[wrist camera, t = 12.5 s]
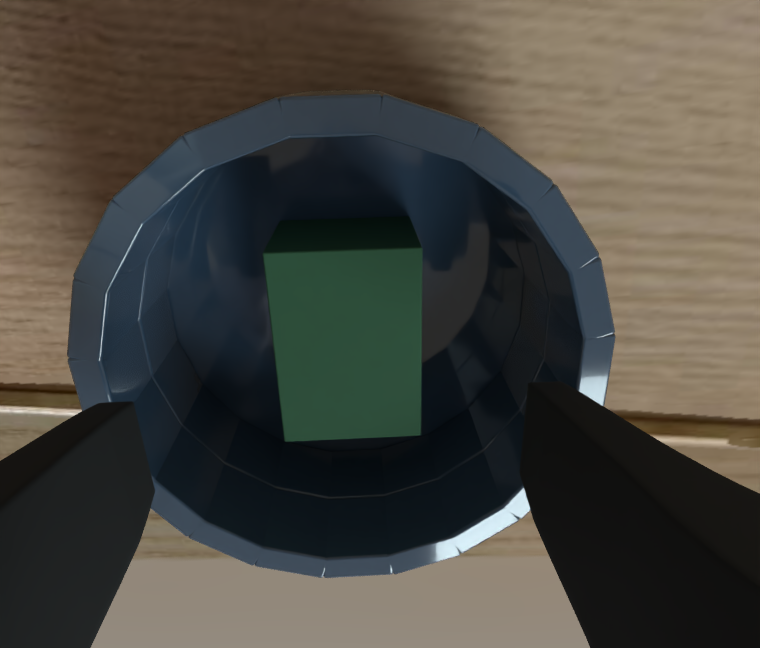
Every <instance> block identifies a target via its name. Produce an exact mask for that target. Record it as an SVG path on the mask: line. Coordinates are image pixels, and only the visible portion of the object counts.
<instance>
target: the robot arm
mask: <svg viewBox="0 0 760 648" xmlns="http://www.w3.org/2000/svg"><path fill="white" fill-rule="evenodd" d="M520 476H521V479H522V483H523V486H524V490H525V493H526V497H527V500H528V503H529V507H530V510H531V513H532V516H533V519H534V522H535V524H536V527H537V529H538V531H539V534H540V536H541V538H542V541H543V543H544V545H545V547H546V550H547V552H548V554H549V556H550V559H551V561H552V563H553V565H554V567H555V570H556V572H557V574H558V576H559V578H560V581H561V583H562V585H563V587H564V589H565V592H566V594H567V596H568V598H569V601H570V603H571V605H572V607H573V609H574V611H575V614H576V616H577V618H578V620H579V623H580V625H581V627H582V629H583V632H584V634H585V636H586V638H587V641H588V643H589V646H590V648H760V494H759V493H757V492H755V491H753V490H751V489H748V488H746V487H744V486H742V485H740V484H738V483H736V482H734V481H732V480H730V479H728V478H726V477H724V476H722V475H720V474H718V473H716V472H714V471H712V470H710V469H709V468H707V467H705V466H703V465H701V464H699V463H698V462H696V461H694V460H692V459H690V458H688V457H687V456H685V455H683V454H681V453H679V452H678V451H676V450H674V449H672V448H671V447H669V446H667V445H665V444H664V443H662V442H660V441H659V440H657V439H655V438H654V437H652V436H650V435H649V434H647V433H645V432H644V431H642V430H640V429H639V428H637V427H635V426H634V425H632V424H631V423H629V422H627V421H626V420H624V419H623V418H621V417H619V416H618V415H616V414H615V413H613V412H611V411H610V410H608V409H607V408H605V407H603V406H602V405H600V404H599V403H597V402H596V401H594V400H592V399H591V398H589V397H588V396H586V395H584V394H583V393H581V392H579V391H578V390H576V389H574V388H573V387H571V386H569V385H567V384H565V383H563V382H561V381H554V382H533V383H528V388H527V399H526V409H525V420H524V430H523V441H522V451H521V462H520ZM154 494H155V488H154V484H153V480H152V476H151V472H150V468H149V464H148V460H147V455H146V451H145V447H144V443H143V439H142V435H141V431H140V427H139V423H138V419H137V414H136V410H135V406H134V402H133V401H127V402H106V403H98V404H96V405H94V406H92V407H90V408H88V409H86V410H84V411H82V412H80V413H78V414H77V415H75V416H73V417H71V418H70V419H68V420H66V421H65V422H63V423H61V424H60V425H58V426H56V427H55V428H53V429H52V430H50V431H48V432H47V433H45V434H43V435H42V436H40V437H39V438H37V439H35V440H34V441H32V442H30V443H29V444H27V445H26V446H24V447H22V448H21V449H19V450H17V451H16V452H14V453H12V454H11V455H9V456H8V457H6V458H4V459H3V460H1V461H0V648H90V647H91V645H92V643H93V641H94V639H95V637H96V634H97V633H98V630H99V628H100V626H101V624H102V622H103V620H104V618H105V616H106V614H107V611H108V609H109V607H110V605H111V603H112V601H113V598H114V596H115V594H116V592H117V590H118V588H119V586H120V584H121V582H122V580H123V577H124V575H125V573H126V571H127V569H128V567H129V564H130V562H131V560H132V558H133V556H134V553H135V551H136V549H137V547H138V544H139V542H140V539H141V536H142V533H143V530H144V527H145V524H146V521H147V518H148V514H149V511H150V507H151V504H152V501H153V497H154Z"/></svg>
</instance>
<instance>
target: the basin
mask: <svg viewBox="0 0 760 648" xmlns="http://www.w3.org/2000/svg"><path fill="white" fill-rule="evenodd" d="M401 216H409V217H410V219H411V221H412V224H413V226H414V229H415V231H416V234H417V236H418V239H419V241H420V243H421V246H422V248H423V251H422V380H421V435H419V436H399V437H377V438H355V439H333V440H311V441H289V442H286V441H284V435H283V426H282V418H281V409H280V401H279V392H278V383H277V375H276V366H275V357H274V349H273V340H272V332H271V323H270V314H269V306H268V297H267V289H266V280H265V271H264V263H263V252H264V250H265V248H266V246H267V244H268V242H269V240H270V238H271V236H272V235H273V233H274V231H275V229H276V227H277V225H278V223H279V221H283V220H312V219H342V218H371V217H401ZM614 332H615V329H614V324H613V318H612V313H611V308H610V303H609V298H608V293H607V287H606V282H605V277H604V272H603V267H602V261H601V259H600V257H599V253H598V251H597V249H596V248H595V246H594V244H593V243H592V241H591V240H590V238H589V236H588V235H587V233H586V231H585V230H584V228H583V227H582V225H581V223H580V222H579V220H578V219H577V217H576V215H575V214H574V212H573V210H572V209H571V207H570V206H569V204H568V202H567V201H566V199H565V198H564V196H563V194H562V193H561V191H560V189H559V188H558V186H557V185H555V184H553V181H552V180H551V179H550V178H549V177H548V176H546V175H545V174H544V173H542V172H541V171H540V170H538V169H537V168H536V167H535V166H533V165H532V164H531V163H529V162H528V161H527V160H525V159H524V158H523V157H522V156H520V155H519V154H518V153H516V152H515V151H514V150H513V149H511V148H510V147H509V146H507V145H506V144H505V143H503V142H502V141H501V140H500V139H498V138H497V137H496V136H494V135H493V134H492V133H490V132H489V131H488V130H487V129H485V128H484V127H482V126H479V125H478V124H477V123H474V122H472V121H469V120H466V119H463V118H460V117H457V116H454V115H452V114H449V113H446V112H443V111H440V110H437V109H434V108H430V107H427V106H424V105H421V104H418V103H415V102H412V101H409V100H406V99H402V98H399V97H396V96H393V95H390V94H387V93H384V92H381V91H377V90H375V91H373V90H335V91H308V92H300V93H294V94H290V95H284V96H280V97H275V98H272V99H270V100H267V101H264V102H262V103H259V104H257V105H254V106H252V107H249V108H247V109H244V110H242V111H239V112H236V113H234V114H231V115H229V116H226V117H224V118H221V119H219V120H216V121H214V122H211V123H209V124H206V125H203V126H201V127H198V128H196V129H193V130H191V131H188V132H186V133H184V134H183V135H182V136H179V137H178V138H177V139H176V140H175V141H174V142H173V143H171V144H170V145H169V146H168V147H167V148H166V149H165V150H164V151H163V152H162V153H160V154H159V155H158V156H157V157H156V158H155V159H154V160H153V161H152V162H150V163H149V164H148V165H147V166H146V167H145V168H144V169H143V170H142V171H141V172H139V173H138V174H137V175H136V176H135V177H134V178H133V179H132V180H131V181H129V182H128V183H127V184H126V185H125V186H124V187H123V188H122V189H121V190H120V191H118V192H117V193H116V194H115V195H114V196H113V198H112V200H110V201H109V203H108V205H107V208H106V210H105V212H104V214H103V216H102V218H101V220H100V222H99V224H98V226H97V228H96V230H95V232H94V234H93V236H92V238H91V240H90V242H89V244H88V246H87V248H86V250H85V252H84V254H83V256H82V258H81V260H80V262H79V264H78V266H77V268H76V271H75V273H74V279H73V285H72V298H71V311H70V324H69V337H68V350H67V356H68V357H69V358H68V364H69V367H70V371H71V374H72V378H73V381H74V384H75V388H76V391H77V395H78V398H79V401H80V405H81V408H82V411H84V410H86V409H88V408H90V407H92V406H94V405H96V404H98V403H106V402H127V401H133V402H134V406H135V410H136V414H137V419H138V423H139V427H140V431H141V435H142V439H143V443H144V447H145V451H146V455H147V460H148V464H149V468H150V472H151V476H152V480H153V484H154V488H155V494H154V497H153V501H152V504H151V507H150V508H151V509H152V510H154V511H155V512H156V513H157V514H159V515H160V516H161V517H162V518H164V519H165V520H166V521H168V522H169V523H170V524H171V525H173V526H174V527H175V528H176V529H178V530H179V531H180V532H181V533H183V534H184V535H185V536H189V538H190V539H192V540H195V541H197V542H199V543H202V544H204V545H206V546H208V547H211V548H213V549H215V550H218V551H220V552H222V553H224V554H227V555H229V556H231V557H234V558H236V559H238V560H241V561H243V562H245V563H247V564H250V565H254V564H255V566H257V567H262V568H268V569H274V570H280V571H285V572H291V573H297V574H302V575H308V576H314V577H319V578H322V577H323V576H324V577H325V578H334V577H353V576H370V575H388V574H389V575H390V574H392V573H394V574H398V573H401V572H405V571H408V570H412V569H415V568H418V567H422V566H425V565H429V564H432V563H435V562H439V561H442V560H446V559H449V558H453V557H456V556H459V555H460V553H464V552H466V551H468V550H469V549H471V548H473V547H474V546H476V545H478V544H480V543H481V542H483V541H485V540H486V539H488V538H490V537H492V536H493V535H495V534H497V533H498V532H500V531H502V530H504V529H505V528H507V527H509V526H511V525H512V524H514V523H516V522H517V521H519V518H520V519H522V518H523V517H524V516H525V515H526V514H527V513H528V512H529V511H530V507H529V503H528V500H527V497H526V493H525V490H524V486H523V483H522V479H521V476H520V462H521V451H522V441H523V430H524V420H525V409H526V399H527V388H528V383H533V382H554V381H561V382H563V383H565V384H567V385H569V386H571V387H573V388H574V389H576V390H578V391H579V392H581V393H583V394H584V395H586V396H588V397H589V398H591V399H592V400H594V401H596V402H597V403H599V404H600V405H602V406H604V403H605V397H606V391H607V385H608V379H609V373H610V367H611V361H612V355H613V349H614V343H615V334H614Z"/></svg>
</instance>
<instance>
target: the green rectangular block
mask: <svg viewBox="0 0 760 648" xmlns="http://www.w3.org/2000/svg"><path fill="white" fill-rule="evenodd" d="M422 251H423V248H422V246H421V243H420V241H419V239H418V236H417V234H416V231H415V229H414V226H413V224H412V221H411V219H410V217H409V216H401V217H371V218H342V219H312V220H283V221H279V223H278V225H277V227H276V229H275V231H274V233H273V235H272V236H271V238H270V240H269V242H268V244H267V246H266V248H265V250H264V252H263V263H264V271H265V280H266V289H267V297H268V306H269V314H270V323H271V332H272V340H273V349H274V357H275V366H276V375H277V383H278V392H279V401H280V409H281V418H282V426H283V435H284V441H286V442H289V441H311V440H333V439H355V438H377V437H399V436H419V435H421V380H422Z"/></svg>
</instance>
